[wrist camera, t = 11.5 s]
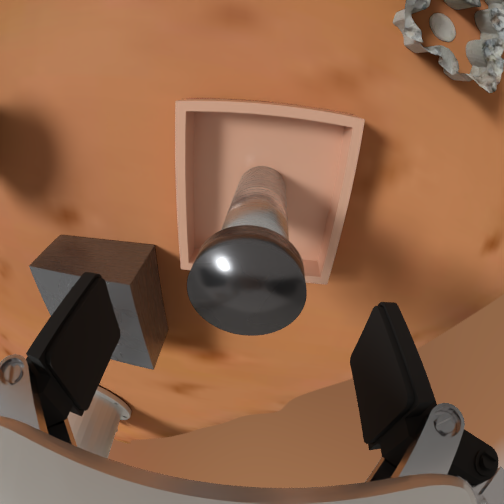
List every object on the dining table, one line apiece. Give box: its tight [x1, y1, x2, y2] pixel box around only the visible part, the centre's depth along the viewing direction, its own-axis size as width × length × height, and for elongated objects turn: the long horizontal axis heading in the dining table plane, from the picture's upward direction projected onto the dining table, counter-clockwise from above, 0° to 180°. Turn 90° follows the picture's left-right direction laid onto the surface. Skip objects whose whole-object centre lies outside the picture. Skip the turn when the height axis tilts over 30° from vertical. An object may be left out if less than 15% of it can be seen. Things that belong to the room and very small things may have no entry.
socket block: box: [29, 235, 168, 370], centre depth 23 cm, size 10×10×5 cm
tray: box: [175, 98, 365, 284], centre depth 18 cm, size 11×10×2 cm
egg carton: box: [393, 0, 504, 93], centre depth 8 cm, size 11×8×4 cm
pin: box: [187, 166, 306, 335], centre depth 14 cm, size 4×4×10 cm
